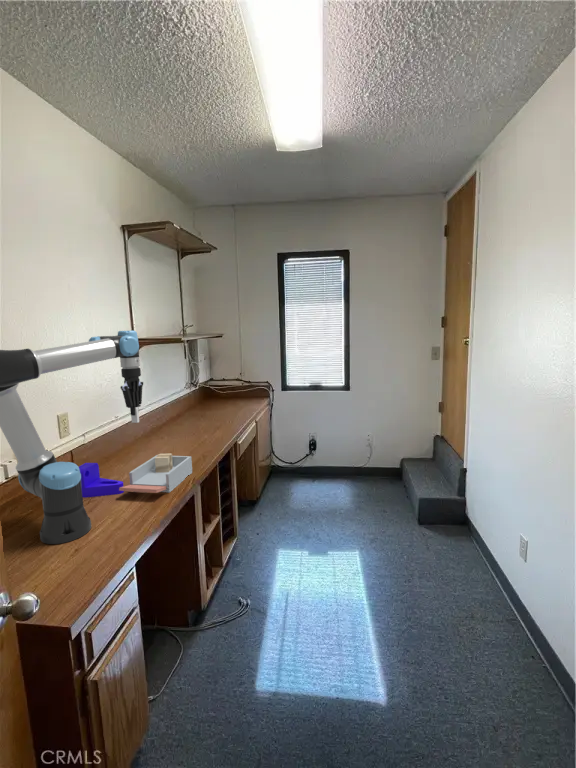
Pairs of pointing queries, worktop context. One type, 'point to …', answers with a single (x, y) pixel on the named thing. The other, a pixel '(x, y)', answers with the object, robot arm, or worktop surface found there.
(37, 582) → the worktop surface
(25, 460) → the robot arm
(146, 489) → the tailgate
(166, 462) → the beige block
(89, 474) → the bracket
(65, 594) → the worktop surface
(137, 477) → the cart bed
